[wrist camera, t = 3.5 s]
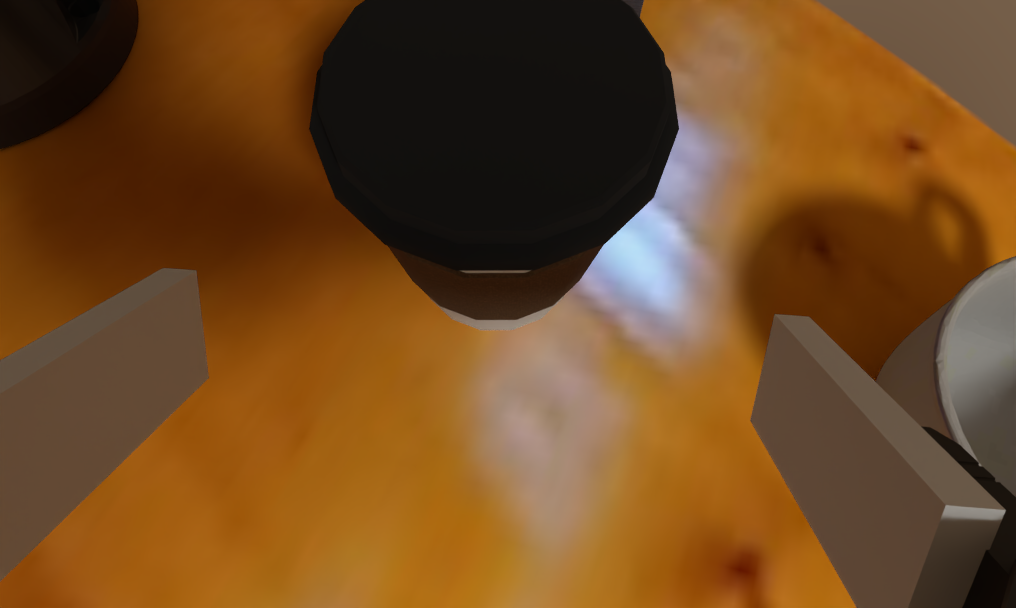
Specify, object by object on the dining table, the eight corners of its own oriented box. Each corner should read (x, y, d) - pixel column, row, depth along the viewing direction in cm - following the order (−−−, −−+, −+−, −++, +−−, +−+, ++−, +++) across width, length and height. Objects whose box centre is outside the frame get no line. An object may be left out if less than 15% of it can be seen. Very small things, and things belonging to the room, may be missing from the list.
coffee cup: (408, 151, 32) (360, -81, 21) (630, 187, 31) (701, -32, 20) (344, 359, 28) (242, 205, 17) (601, 407, 27) (671, 279, 16)
